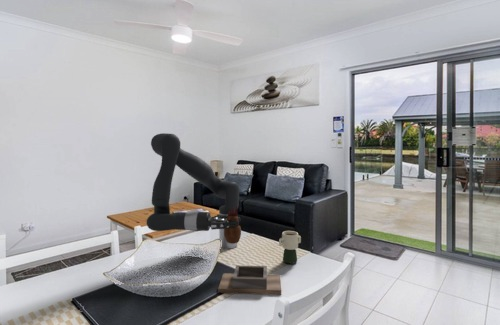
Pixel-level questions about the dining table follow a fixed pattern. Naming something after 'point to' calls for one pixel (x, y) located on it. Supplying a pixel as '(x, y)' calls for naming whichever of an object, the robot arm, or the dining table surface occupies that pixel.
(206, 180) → the robot arm
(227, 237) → the wooden figurine
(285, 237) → the character mug
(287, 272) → the dining table surface
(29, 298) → the dining table surface
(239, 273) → the socket stand
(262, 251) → the dining table surface
